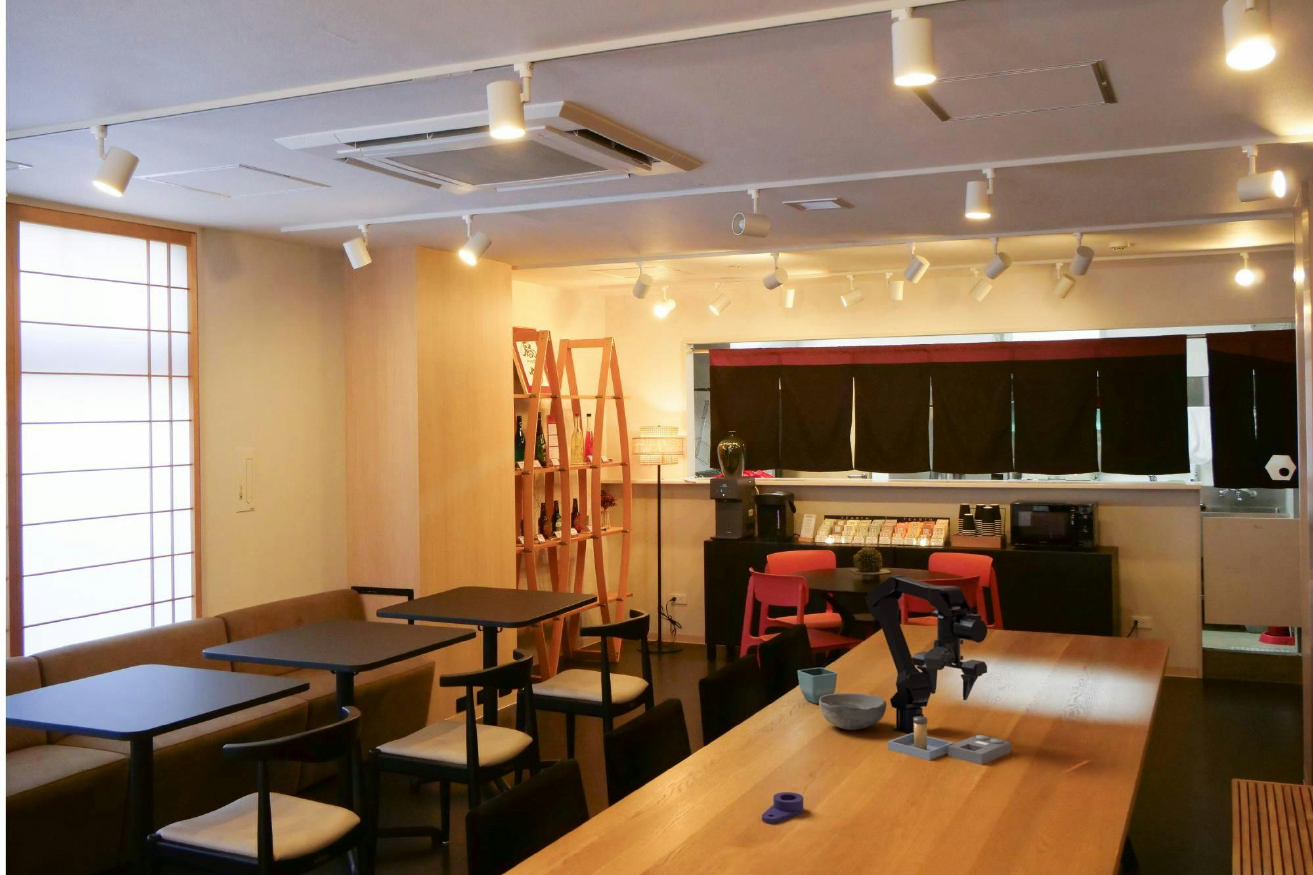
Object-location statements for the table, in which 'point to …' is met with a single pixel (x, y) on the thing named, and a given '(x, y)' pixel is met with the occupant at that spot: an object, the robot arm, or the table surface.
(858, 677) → the table surface
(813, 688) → the flower pot
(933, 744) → the parts tray
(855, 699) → the bowl
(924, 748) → the cylinder
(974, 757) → the panel
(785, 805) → the lever
